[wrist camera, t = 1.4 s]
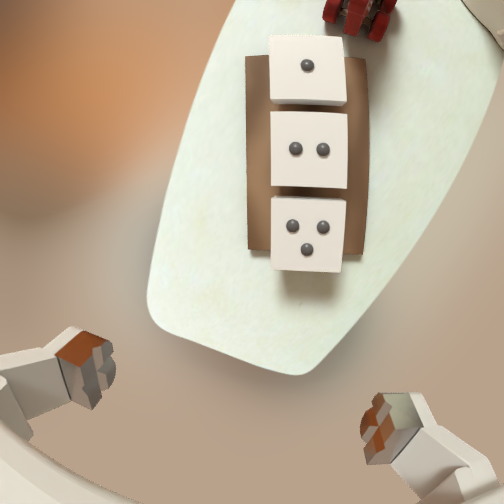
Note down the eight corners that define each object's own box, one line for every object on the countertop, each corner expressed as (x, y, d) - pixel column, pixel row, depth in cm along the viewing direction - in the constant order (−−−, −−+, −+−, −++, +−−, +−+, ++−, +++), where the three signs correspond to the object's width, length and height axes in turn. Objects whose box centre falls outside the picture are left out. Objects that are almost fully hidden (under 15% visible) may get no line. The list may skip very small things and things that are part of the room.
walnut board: (363, 62, 24) (368, 53, 21) (360, 251, 31) (366, 260, 28) (247, 59, 26) (241, 50, 23) (249, 246, 33) (244, 255, 30)
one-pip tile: (338, 47, 22) (342, 36, 19) (342, 106, 24) (347, 101, 21) (271, 45, 23) (268, 34, 20) (273, 104, 25) (269, 98, 22)
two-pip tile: (342, 118, 24) (347, 113, 21) (342, 185, 26) (347, 188, 23) (273, 116, 25) (270, 111, 22) (274, 183, 27) (270, 185, 25)
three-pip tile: (342, 197, 27) (346, 202, 24) (337, 262, 29) (340, 273, 26) (274, 195, 28) (270, 199, 25) (273, 259, 30) (270, 270, 27)
